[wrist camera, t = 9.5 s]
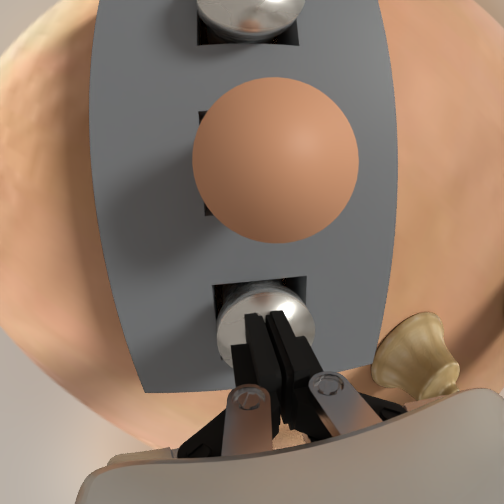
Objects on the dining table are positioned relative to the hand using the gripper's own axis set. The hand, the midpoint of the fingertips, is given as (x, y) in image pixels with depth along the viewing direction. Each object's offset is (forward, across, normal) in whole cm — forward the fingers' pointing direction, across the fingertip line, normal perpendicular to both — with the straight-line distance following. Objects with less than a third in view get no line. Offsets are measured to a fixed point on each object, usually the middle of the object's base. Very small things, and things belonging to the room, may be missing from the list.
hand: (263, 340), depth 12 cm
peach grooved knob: (+2, 0, -7) cm, 8 cm away
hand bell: (+6, -14, +8) cm, 18 cm away
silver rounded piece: (+5, 0, 0) cm, 5 cm away
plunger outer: (+5, 0, -15) cm, 16 cm away
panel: (+6, 0, -8) cm, 9 cm away
